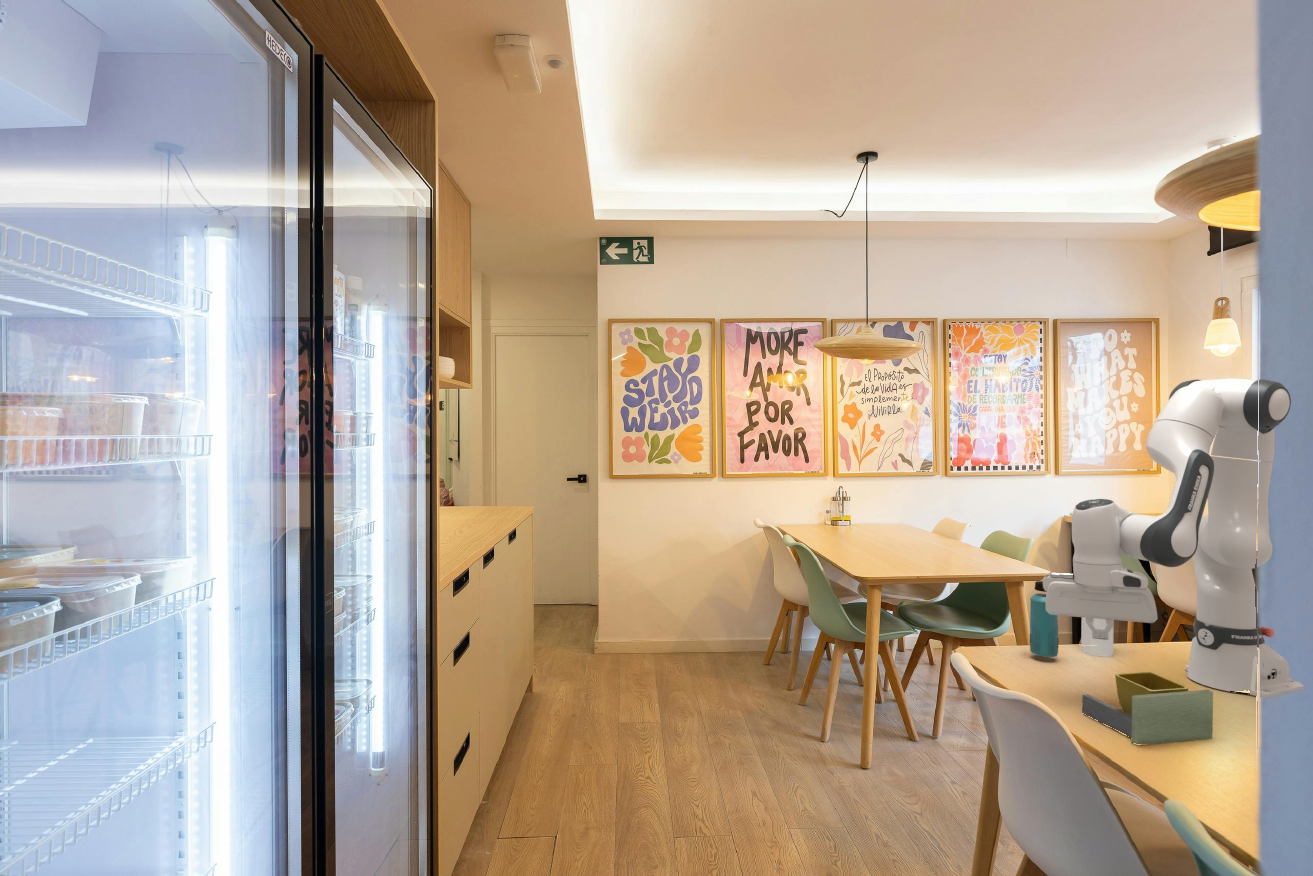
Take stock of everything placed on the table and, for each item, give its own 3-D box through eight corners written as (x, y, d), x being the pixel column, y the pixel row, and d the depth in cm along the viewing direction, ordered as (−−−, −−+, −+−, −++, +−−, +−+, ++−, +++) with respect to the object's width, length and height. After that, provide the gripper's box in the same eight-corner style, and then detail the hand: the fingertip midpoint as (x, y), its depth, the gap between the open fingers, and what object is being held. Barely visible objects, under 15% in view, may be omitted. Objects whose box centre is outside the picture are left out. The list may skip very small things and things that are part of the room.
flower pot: (1189, 733, 131) (1190, 687, 131) (1151, 736, 130) (1151, 690, 130) (1149, 714, 140) (1150, 671, 140) (1113, 717, 139) (1113, 674, 138)
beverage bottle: (1062, 664, 170) (1063, 585, 170) (1033, 662, 171) (1034, 584, 171) (1052, 655, 176) (1053, 579, 176) (1025, 653, 178) (1026, 578, 177)
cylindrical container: (1118, 653, 178) (1119, 559, 178) (1106, 658, 174) (1107, 562, 174) (1088, 646, 184) (1089, 555, 184) (1076, 651, 180) (1077, 558, 180)
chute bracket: (1146, 708, 143) (1146, 666, 143) (1212, 738, 129) (1213, 692, 129) (1076, 714, 140) (1077, 671, 140) (1137, 745, 126) (1137, 698, 126)
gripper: (1041, 574, 148) (1044, 637, 148) (1156, 581, 137) (1159, 648, 137) (1042, 569, 153) (1045, 629, 153) (1153, 575, 143) (1156, 640, 143)
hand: (1100, 638), depth 145 cm, fingers closed
